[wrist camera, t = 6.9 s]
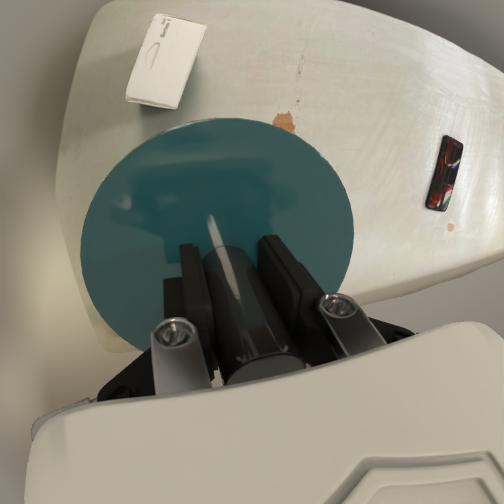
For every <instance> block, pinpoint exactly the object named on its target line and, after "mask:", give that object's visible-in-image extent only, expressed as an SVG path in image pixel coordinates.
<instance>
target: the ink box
mask: <svg viewBox="0 0 504 504" xmlns="http://www.w3.org/2000/svg"><path fill="white" fill-rule="evenodd" d="M206 28H207V25H205V24H203V23H200V22H197V21H194V20H190V19H186V18H182V17H177V16H172V15H166V14H159V13H158V14H156V15H155V16H154V18H153V20H152V22H151V25H150V27H149V29H148V31H147V33H146V36H145V39H144V42H143V45H142V47H141V49H140V51H139V54H138V56H137V60H136V63H135V66H134V68H133V70H132V73H131V76H130V80H129V83H128V85H127V88H126V95H125V99H126V101H129V102H135V103H140V104H145V105H150V106H155V107H160V108H167V109H177V107H178V104H179V101H180V99H181V96H182V94H183V91H184V89H185V86H186V83H187V80H188V77H189V75H190V72H191V69H192V67H193V64H194V61H195V58H196V55H197V53H198V50H199V47H200V45H201V42H202V39H203V36H204V34H205V31H206Z"/></svg>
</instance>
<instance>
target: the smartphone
mask: <svg viewBox="0 0 504 504" xmlns="http://www.w3.org/2000/svg"><path fill="white" fill-rule="evenodd" d="M462 152H463V144H462V143H460V142H459V141H457V140H455V139H453V138H451V137H449V136H447V135H445V136H444V137H443V141H442V146H441V150H440V154H439V159H438V163H437V167H436V171H435V174H434V178H433V182H432V185H431V189H430V192H429V196H428V199H427V202H426V207H427V208H429V209H433V210H438V211H443V212H445V211H446V209H447V207H448V204H449V200H450V197H451V194H452V190H453V187H454V183H455V180H456V176H457V172H458V168H459V164H460V160H461V156H462Z"/></svg>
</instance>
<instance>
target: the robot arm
mask: <svg viewBox="0 0 504 504" xmlns="http://www.w3.org/2000/svg"><path fill="white" fill-rule="evenodd" d="M179 250H180V261H181V270H182V277H175V278H166V279H163V303H164V320H162V321H160V322H158V323H157V324H156V325H155V326H154V327H153V329H152V330H151V335H150V340H151V347H150V348H149V349H147V350H146V351H145V352H144V353H143V354H142V355H140V356H139V357H138V358H137V359H136V360H134V361H133V362H132V363H131V364H130V365H128V366H127V367H126V368H125V369H124V370H122V371H121V372H120V373H119V374H118V375H116V376H115V377H114V378H113V379H112V380H110V381H109V382H108V383H107V384H106V385H105V386H104V387H103V388H102V389H101V390H100V391H99V394H98V396H97V398H95V399H92V400H90V399H89V398H86V399H83V400H81V401H78V402H76V403H73V404H71V405H68V406H66V407H63V408H61V409H58V410H55V411H53V412H50V413H48V414H45V415H42V416H41V417H39V418H37V419H36V420H35V422H34V423H33V425H32V428H31V437H32V441H33V444H32V447H31V451H30V455H29V460H28V466H27V472H26V484H25V500H24V501H25V504H504V340H503V339H502V338H501V337H500V336H499V335H498V334H497V333H495V332H494V331H493V330H492V329H491V328H489V327H488V326H486V325H485V324H482V323H478V322H464V321H462V322H455V323H449V324H446V325H442V326H438V327H436V328H433V329H430V330H427V331H424V332H421V333H417V334H416V335H415V334H414V333H413V332H411V331H410V330H408V329H406V328H402V327H399V326H395V325H393V324H389V323H386V322H383V321H379V320H376V319H373V318H370V317H367V316H366V314H365V313H364V312H363V310H362V309H361V308H360V306H359V305H358V304H357V302H356V301H355V300H354V299H352V298H351V297H349V296H347V295H344V294H340V293H329V294H325V292H324V291H323V290H322V288H321V287H320V286H319V284H318V283H317V282H316V281H315V279H314V278H313V277H312V275H311V274H310V273H309V271H308V270H307V269H306V268H305V266H304V265H303V264H302V263H301V262H298V261H297V260H296V258H295V257H294V256H293V254H292V253H291V252H290V250H289V249H288V248H287V247H286V245H285V244H284V243H283V241H282V240H281V239H280V238H279V236H278V235H277V234H276V235H265V236H263V238H262V239H260V240H258V260H257V270H258V272H259V274H260V276H261V278H262V280H263V282H264V284H265V286H266V288H267V290H268V291H269V293H270V295H271V297H272V299H273V301H274V303H275V305H276V307H277V309H278V311H279V313H280V315H281V317H282V318H283V320H284V322H285V324H286V326H287V328H288V330H289V332H290V334H291V336H292V338H293V340H294V341H295V343H296V345H297V347H298V349H299V351H300V353H301V355H302V357H303V359H304V361H305V363H306V369H303V370H299V371H295V372H290V373H286V374H282V375H277V376H273V377H268V378H263V379H259V380H254V381H249V382H244V383H238V384H233V385H227V386H221V387H215V388H212V384H211V381H212V380H213V379H214V378H215V377H214V370H218V364H217V358H216V354H215V345H216V344H215V334H214V323H213V312H212V305H211V300H210V295H209V291H208V287H207V283H206V278H205V274H204V270H203V265H202V261H201V256H200V252H199V247H198V246H195V247H193V243H189V244H180V245H179Z"/></svg>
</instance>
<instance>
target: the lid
mask: <svg viewBox="0 0 504 504" xmlns="http://www.w3.org/2000/svg"><path fill="white" fill-rule="evenodd" d="M276 234H277V235H278V236H279V238H280V239H281V240H282V241H283V243H284V244H285V245H286V247H287V248H288V249H289V250H290V252H291V253H292V254H293V256H294V257H295V258H296V260H297V261H298V262H301V263H302V264H303V265H304V266H305V268H306V269H307V270H308V271H309V273H310V274H311V275H312V277H313V278H314V279H315V281H316V282H317V283H318V284H319V286H320V287H321V288H322V290H323V291H324V292H325V294H329V293H337V291H338V290H339V288H340V286H341V283H342V281H343V279H344V277H345V274H346V272H347V269H348V266H349V263H350V258H351V254H352V249H353V239H354V226H353V216H352V210H351V205H350V202H349V199H348V196H347V193H346V190H345V188H344V186H343V184H342V182H341V180H340V178H339V176H338V175H337V173H336V172H335V170H334V169H333V168H332V166H331V165H330V164H329V162H328V161H327V160H326V159H325V158H324V157H323V156H322V155H321V154H320V153H319V152H318V151H317V150H316V149H315V148H314V147H312V146H311V145H310V144H308V143H307V142H305V141H304V140H302V139H301V138H300V137H298V136H296V135H294V134H292V133H290V132H288V131H286V130H284V129H282V128H279V127H276V126H273V125H270V124H267V123H264V122H260V121H255V120H249V119H242V118H209V119H202V120H196V121H191V122H188V123H184V124H181V125H178V126H175V127H172V128H169V129H167V130H165V131H163V132H161V133H159V134H157V135H155V136H153V137H151V138H149V139H148V140H146V141H145V142H143V143H142V144H140V145H139V146H137V147H136V148H134V149H133V150H132V151H131V152H130V153H128V154H127V155H126V156H125V157H124V158H123V159H122V160H121V161H120V162H119V163H118V164H117V165H116V166H115V167H114V168H113V170H112V171H111V172H110V173H109V175H108V176H107V177H106V178H105V180H104V181H103V182H102V184H101V185H100V187H99V189H98V191H97V192H96V194H95V196H94V198H93V200H92V202H91V204H90V207H89V209H88V212H87V215H86V218H85V221H84V225H83V231H82V236H81V251H80V258H81V266H82V274H83V277H84V281H85V285H86V288H87V291H88V293H89V295H90V298H91V300H92V302H93V304H94V306H95V307H96V309H97V310H98V312H99V314H100V315H101V317H102V318H103V319H104V320H105V322H106V323H107V324H108V325H109V326H110V327H111V328H112V329H113V330H114V331H115V332H116V333H117V334H118V335H119V336H120V337H121V338H123V339H124V340H125V341H127V342H128V343H130V344H131V345H133V346H134V347H136V348H138V349H139V350H141V351H143V352H145V351H146V350H147V349H149V348H150V347H151V340H150V335H151V330H152V329H153V327H154V326H155V325H156V324H157V323H158V322H160V321H162V320H164V303H163V279H166V278H175V277H182V270H181V261H180V250H179V245H180V244H189V243H193V247H195V246H198V247H199V252H200V256H201V261H202V265H203V270H204V274H205V278H206V283H207V287H208V291H209V295H210V300H211V305H212V312H213V323H214V334H215V344H216V345H215V354H216V358H217V364H218V367H219V370H220V375H221V379H222V383H223V386H227V385H233V384H238V383H244V382H249V381H254V380H259V379H263V378H268V377H273V376H277V375H282V374H286V373H290V372H295V371H299V370H303V369H306V363H305V361H304V359H303V357H302V355H301V353H300V351H299V349H298V347H297V345H296V343H295V341H294V340H293V338H292V336H291V334H290V332H289V330H288V328H287V326H286V324H285V322H284V320H283V318H282V317H281V315H280V313H279V311H278V309H277V307H276V305H275V303H274V301H273V299H272V297H271V295H270V293H269V291H268V290H267V288H266V286H265V284H264V282H263V280H262V278H261V276H260V274H259V272H258V270H257V260H258V240H260V239H262V238H263V236H265V235H276Z"/></svg>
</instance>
